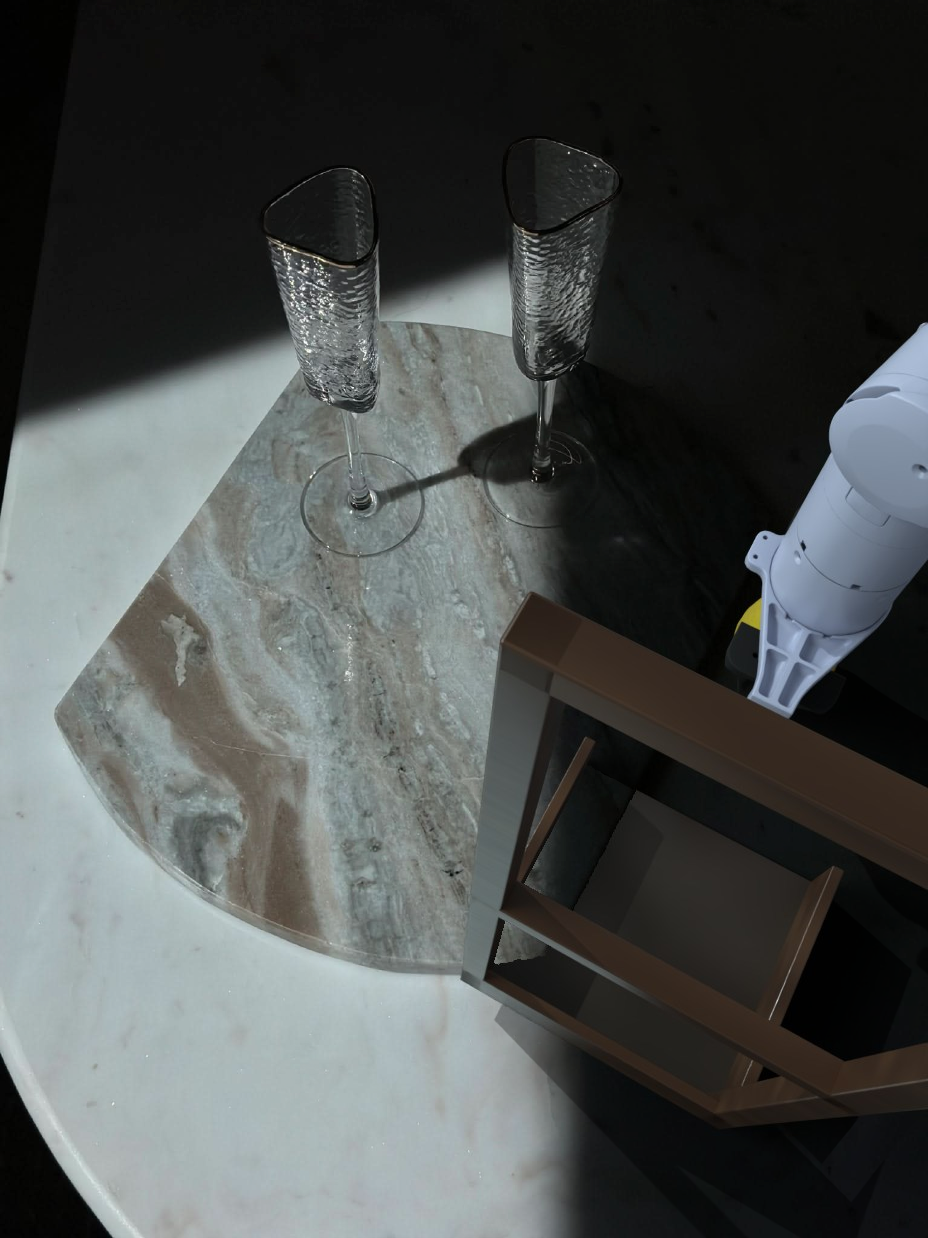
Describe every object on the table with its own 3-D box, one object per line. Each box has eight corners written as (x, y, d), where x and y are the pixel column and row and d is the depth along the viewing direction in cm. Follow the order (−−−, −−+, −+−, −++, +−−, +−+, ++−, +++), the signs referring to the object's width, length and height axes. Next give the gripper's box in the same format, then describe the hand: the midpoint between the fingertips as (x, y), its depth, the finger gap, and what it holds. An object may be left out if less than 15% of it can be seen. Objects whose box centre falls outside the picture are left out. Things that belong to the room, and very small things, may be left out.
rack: (577, 760, 63) (788, 152, 25) (820, 887, 60) (1475, 426, 22) (459, 979, 58) (497, 641, 20) (719, 1129, 55) (1338, 1072, 17)
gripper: (836, 380, 54) (762, 523, 67) (711, 624, 49) (656, 731, 61) (979, 442, 53) (878, 577, 65) (868, 701, 47) (780, 794, 60)
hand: (779, 656), depth 63 cm, fingers closed on lemon, 5 cm apart
